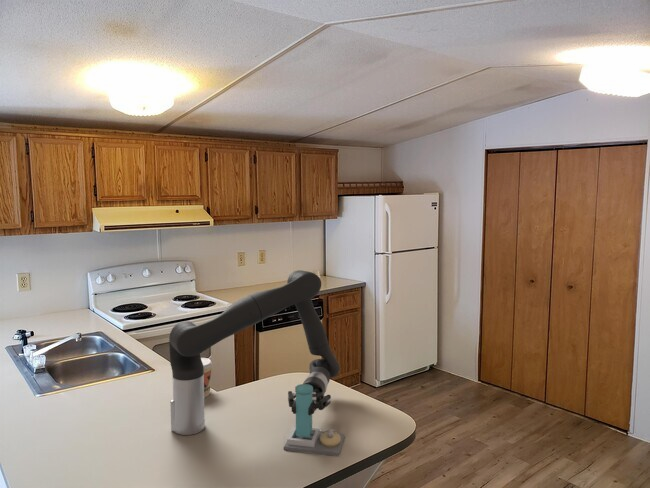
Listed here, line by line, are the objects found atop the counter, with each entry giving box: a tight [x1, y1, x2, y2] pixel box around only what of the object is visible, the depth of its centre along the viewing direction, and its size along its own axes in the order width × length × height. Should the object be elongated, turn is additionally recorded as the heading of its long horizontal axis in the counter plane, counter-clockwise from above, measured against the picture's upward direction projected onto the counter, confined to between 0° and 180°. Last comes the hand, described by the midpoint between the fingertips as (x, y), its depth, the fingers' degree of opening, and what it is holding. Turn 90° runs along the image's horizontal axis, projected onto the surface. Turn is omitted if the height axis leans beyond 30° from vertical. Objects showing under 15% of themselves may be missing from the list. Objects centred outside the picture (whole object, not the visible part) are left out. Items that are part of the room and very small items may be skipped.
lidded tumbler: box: [294, 383, 313, 437], centre depth 146 cm, size 5×5×14 cm
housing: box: [283, 425, 346, 457], centre depth 146 cm, size 16×11×4 cm
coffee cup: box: [201, 357, 213, 398], centre depth 178 cm, size 9×9×12 cm
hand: (301, 411), depth 143 cm, fingers closed on lidded tumbler, 4 cm apart
